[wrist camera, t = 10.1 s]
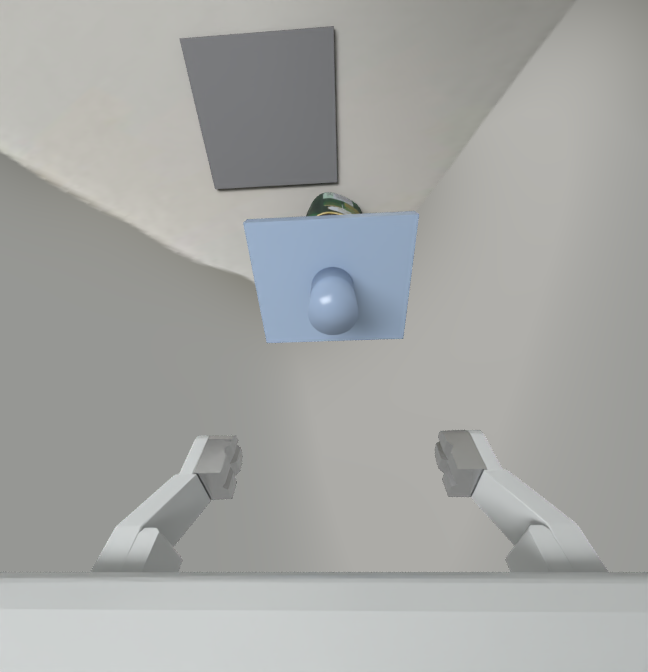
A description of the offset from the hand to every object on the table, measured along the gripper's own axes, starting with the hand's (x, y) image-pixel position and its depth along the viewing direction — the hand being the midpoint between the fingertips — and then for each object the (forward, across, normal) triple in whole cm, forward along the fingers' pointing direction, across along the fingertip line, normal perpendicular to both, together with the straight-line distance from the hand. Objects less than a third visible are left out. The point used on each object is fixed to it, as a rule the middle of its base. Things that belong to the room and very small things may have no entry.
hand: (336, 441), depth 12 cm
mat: (+35, +7, -13) cm, 38 cm away
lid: (+16, 0, 0) cm, 16 cm away
